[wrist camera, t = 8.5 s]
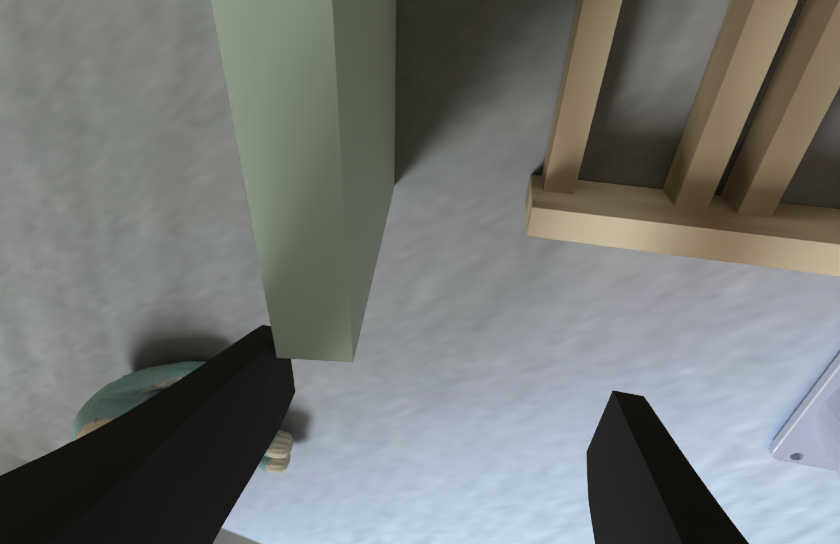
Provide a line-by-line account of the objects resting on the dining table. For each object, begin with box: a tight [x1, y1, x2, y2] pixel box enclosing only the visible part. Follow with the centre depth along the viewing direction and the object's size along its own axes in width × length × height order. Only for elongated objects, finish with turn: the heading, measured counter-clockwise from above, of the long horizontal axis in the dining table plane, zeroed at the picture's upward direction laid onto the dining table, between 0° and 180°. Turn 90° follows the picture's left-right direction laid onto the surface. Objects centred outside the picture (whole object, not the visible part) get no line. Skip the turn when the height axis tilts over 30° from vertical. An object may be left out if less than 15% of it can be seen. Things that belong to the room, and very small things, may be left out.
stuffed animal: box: [72, 360, 293, 473], centre depth 26 cm, size 11×7×12 cm
